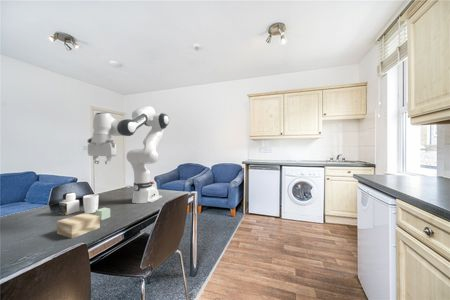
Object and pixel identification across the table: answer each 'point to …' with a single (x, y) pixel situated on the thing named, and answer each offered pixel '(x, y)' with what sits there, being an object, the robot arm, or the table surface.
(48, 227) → the table surface
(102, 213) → the sage cube
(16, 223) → the table surface
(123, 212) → the table surface
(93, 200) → the white cup
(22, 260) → the table surface
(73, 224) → the beech block
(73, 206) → the medicine bottle
